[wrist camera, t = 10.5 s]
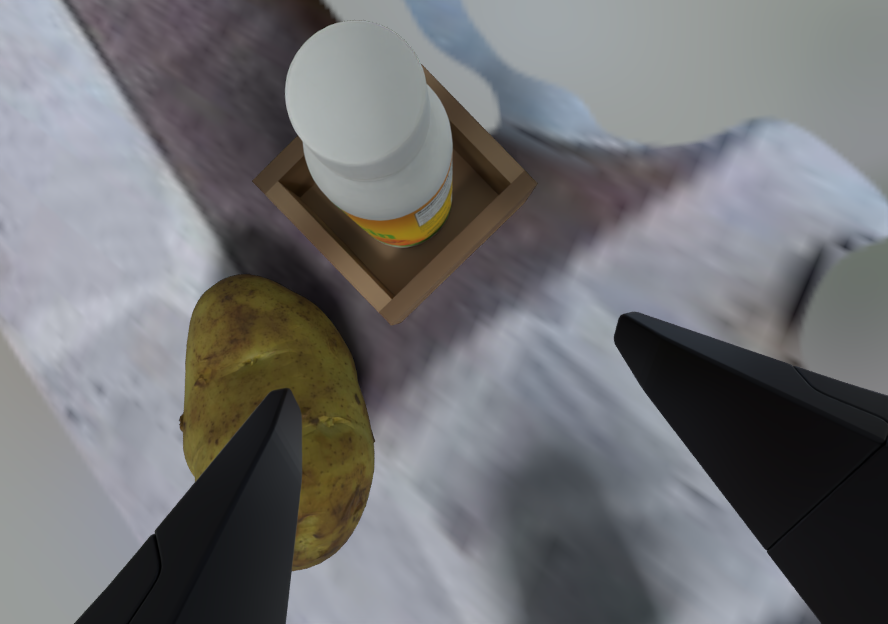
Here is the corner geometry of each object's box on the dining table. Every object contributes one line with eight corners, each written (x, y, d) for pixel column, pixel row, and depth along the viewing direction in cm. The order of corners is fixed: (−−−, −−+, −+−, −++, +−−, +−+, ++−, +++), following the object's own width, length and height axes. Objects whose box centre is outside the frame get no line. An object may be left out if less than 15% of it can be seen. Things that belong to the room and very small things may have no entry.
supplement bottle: (336, 212, 19) (218, 115, 10) (392, 132, 19) (331, -48, 9) (414, 268, 19) (376, 229, 10) (471, 189, 19) (491, 66, 9)
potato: (372, 266, 20) (319, 239, 12) (397, 487, 20) (361, 606, 12) (230, 283, 20) (85, 266, 12) (256, 501, 20) (129, 628, 12)
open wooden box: (524, 203, 20) (537, 183, 17) (400, 322, 20) (391, 325, 17) (404, 80, 20) (395, 37, 17) (282, 200, 20) (251, 181, 17)
